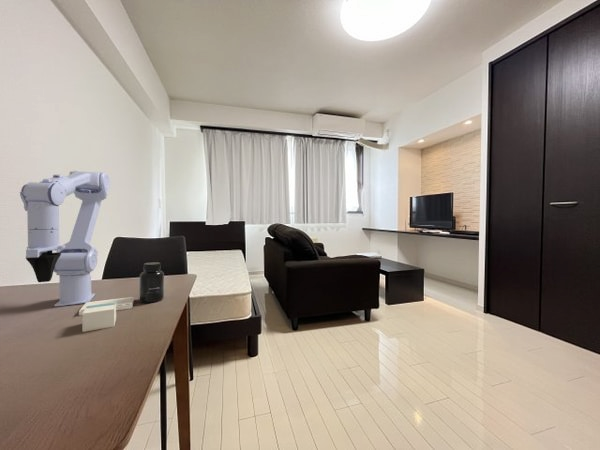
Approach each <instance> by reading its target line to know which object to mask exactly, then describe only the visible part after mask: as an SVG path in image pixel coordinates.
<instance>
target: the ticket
mask: <svg viewBox="0 0 600 450" xmlns="http://www.w3.org/2000/svg"><path fill="white" fill-rule="evenodd" d="M112 302H116V312H117V311H123V310H124V311H125V310H130V309H133V306H134V302H135V296H129V297H120V298H111V299H106V300H104V299H103V300H102V299H101V300H95V301H89V302H86V303H83V305H82V307H81V308H80V309H79V311H78V316H82V313H83V312H84V310H85V308H86V307H87V306H89V305H97V304H105V303H112Z"/></svg>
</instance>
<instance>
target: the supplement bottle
mask: <svg viewBox="0 0 600 450" xmlns="http://www.w3.org/2000/svg"><path fill="white" fill-rule="evenodd" d="M161 265H162V264H161V262H157V261H156V262H155V261H153V262H145V263H143V271H142V272H141V273H140V274H139V294H138V295H139V296H138V298H139V302H140V303H143V304H150V303H151V304H152V303H153V304H154V303H157V301H158V302H160V301H162V300H163V299H164V294H165V293H164V291H165V287H164V286H165V285H164V284H165V273H164V271H162V270H161Z"/></svg>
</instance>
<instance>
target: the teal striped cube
mask: <svg viewBox="0 0 600 450" xmlns="http://www.w3.org/2000/svg"><path fill="white" fill-rule="evenodd" d="M81 317H82V319H81V320H82V322H81V323H82V326H81V328H82V333H85V332H90V331H96V330H102V329H107V328H108V329H109V328H112V327H113V328H114V327H115V326H116V325H115V323H116V322H117V311H116V302H112V303H105V304H97V305H89V306H87V307H86V308H85V310H84V312H83V313H82V315H81Z"/></svg>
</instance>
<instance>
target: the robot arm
mask: <svg viewBox="0 0 600 450" xmlns="http://www.w3.org/2000/svg"><path fill="white" fill-rule="evenodd" d="M110 182H111V181H110V177H109V175H108V174H107V173H106V172H97V171H95V172H94V171H93V172H92V171H91V172H90V171H77V170H72V171H69V175H67V176H65V175H62V174H57V173H56V174H53V175H52V177H50V178H44V179H42V180H41V181H39V182H36V181H35V182H33V181H32V182H31V181H30V182H27V183H26V184H23V186H22V187H21V189H20V191H19V196H20V199H21V202H23V209H24V211H26V214H27V215H26V216H27V246H26V250H25V259H26V261H27V262H28V263H29V265H30V266H31V268H32V270H33V272H34V275H35V277H36V280H37V282H38V283H47V282H50V281H52V278H53V275H54V273H55V274H56V276H58V277H59V280H58V281H59V283H58V284H59V300H58V301H57V302H56V303H55V304H54V307H62V306H72V305H79V304H81V305H82V304H85V303H86V302H91V300H92V299H93V298H94V296H95V295H96V292H95V293H93V292H92V275H91V272H94V270H95V269H96V267H97V264H98V253H99V252H98V250H97V248H96V247H95V246H93V245H92V244H91V240H92V237H93V233H94V230H95V226H96V222H97V218H98V215H99V212H100V208H101V204H102V202H103V200H106V199H107V197H108V195H109V191H110V188H111V184H110ZM72 194H74V196H75V198H77V199H79V200H81V201H82V202H81V205H80V207H79V211H78V214H77V217H76V220H75V224H74V227H73V230H72V233H71V236H70V239H69V241H68V242H66V243H64V244H62V245H61V244H60V206H61V205H62V204H63V203H64V200H65V199H66V198H67V197H68V196H70V195H72ZM54 251H56V252H54Z"/></svg>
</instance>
